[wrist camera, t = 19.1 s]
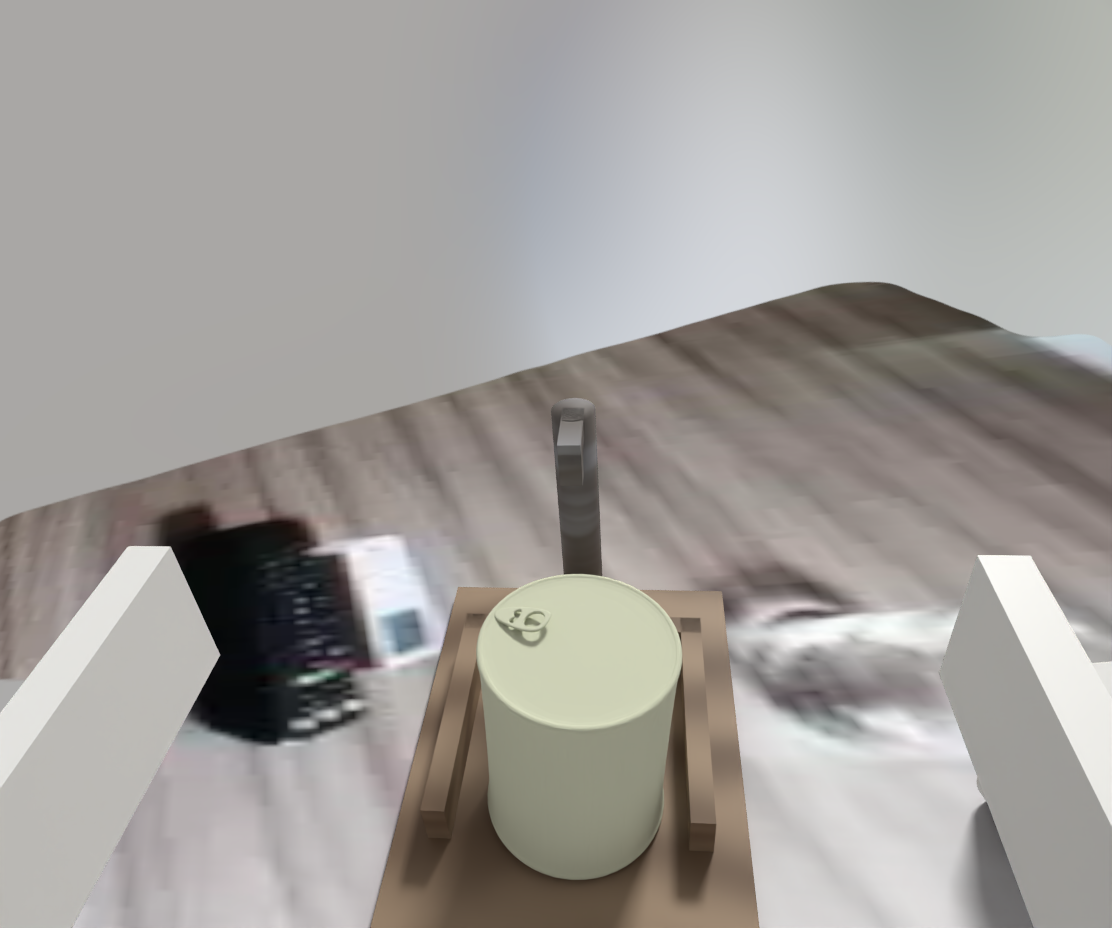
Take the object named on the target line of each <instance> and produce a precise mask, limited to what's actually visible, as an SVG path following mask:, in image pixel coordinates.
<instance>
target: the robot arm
mask: <svg viewBox="0 0 1112 928" xmlns="http://www.w3.org/2000/svg"><path fill="white" fill-rule="evenodd" d="M219 656H220V654H219V652H218V649H217V647H216V645H215V643H214V641H213V639H212V636H211V634H210V632H209V630H208V628H207V625H206V623H205V621H204V619H203V617H202V614H201V612H200V610H199V608H198V606H197V604H196V601H195V599H194V597H193V595H192V593H191V590H190V588H189V586H188V584H187V582H186V580H185V577H184V575H183V573H182V571H181V569H180V566H179V564H178V562H177V560H176V558H175V556H174V553H173V551H172V549H171V547H159V546H128V547H127V549H126V550H125V551H124V553H123V554H122V555H121V556H120V558H119V559H118V560H117V562H116V563H115V564H114V566H113V567H112V568H111V569H110V571H109V572H108V573H107V575H106V576H105V577H104V579H103V580H102V581H101V583H100V584H99V585H98V586H97V588H96V589H95V590H94V592H93V593H92V594H91V596H90V597H89V598H88V599H87V601H86V602H85V603H84V605H83V606H82V607H81V609H80V610H79V611H78V613H77V614H76V615H75V616H74V618H73V619H72V620H71V622H70V623H69V624H68V626H67V627H66V628H65V629H64V631H63V632H62V633H61V635H60V636H59V637H58V639H57V640H56V641H55V643H54V644H53V645H52V646H51V648H50V649H49V650H48V652H47V653H46V654H45V656H44V657H43V658H42V659H41V661H40V662H39V663H38V665H37V666H36V667H35V669H34V670H33V671H32V673H31V674H30V675H29V676H28V678H27V679H26V680H25V682H24V683H23V684H22V686H21V687H20V688H19V689H18V691H17V692H16V694H15V695H14V696H13V697H12V699H11V700H10V701H9V703H8V704H7V705H6V706H5V708H4V709H3V710H2V712H1V713H0V928H72V927H73V925H74V923H75V922H76V920H77V918H78V916H79V914H80V912H81V911H82V909H83V907H84V905H85V903H86V901H87V899H88V898H89V896H90V894H91V892H92V890H93V888H94V887H95V885H96V883H97V881H98V879H99V877H100V875H101V874H102V872H103V870H104V868H105V866H106V864H107V863H108V861H109V859H110V857H111V855H112V853H113V851H114V850H115V848H116V846H117V844H118V842H119V840H120V839H121V837H122V835H123V833H124V831H125V829H126V827H127V826H128V824H129V822H130V820H131V818H132V816H133V815H134V813H135V811H136V809H137V807H138V805H139V803H140V802H141V800H142V798H143V796H144V794H145V792H146V791H147V789H148V787H149V785H150V783H151V781H152V780H153V778H154V776H155V774H156V772H157V770H158V768H159V767H160V765H161V763H162V761H163V759H164V757H165V756H166V754H167V752H168V750H169V748H170V746H171V744H172V743H173V741H174V739H175V737H176V735H177V733H178V732H179V730H180V728H181V726H182V724H183V722H184V720H185V719H186V717H187V715H188V713H189V711H190V709H191V708H192V706H193V704H194V702H195V700H196V698H197V696H198V695H199V693H200V691H201V689H202V687H203V685H204V684H205V682H206V680H207V678H208V676H209V674H210V672H211V671H212V669H213V667H214V665H215V663H216V661H217V660H218V658H219ZM939 675H940V678H941V680H942V683H943V686H944V688H945V691H946V694H947V696H948V699H949V702H950V704H951V707H952V710H953V712H954V715H955V718H956V720H957V723H958V726H959V729H960V731H961V734H962V737H963V739H964V742H965V745H966V747H967V750H968V753H969V755H970V758H971V761H972V763H973V766H974V769H975V771H976V774H977V777H978V779H979V782H980V785H981V788H982V790H983V793H984V796H985V798H986V801H987V804H988V806H989V809H990V812H991V814H992V817H993V820H994V822H995V825H996V828H997V830H998V833H999V836H1000V838H1001V841H1002V844H1003V846H1004V849H1005V852H1006V855H1007V857H1008V860H1009V863H1010V865H1011V868H1012V871H1013V873H1014V876H1015V879H1016V881H1017V884H1018V887H1019V889H1020V892H1021V895H1022V897H1023V900H1024V903H1025V905H1026V908H1027V911H1028V914H1029V916H1030V919H1031V922H1032V924H1033V927H1034V928H1112V698H1111V696H1110V694H1109V693H1108V691H1107V689H1106V687H1105V686H1104V684H1103V682H1102V680H1101V679H1100V677H1099V675H1098V673H1097V672H1096V670H1095V668H1094V666H1093V665H1092V663H1091V661H1090V659H1089V658H1088V656H1087V654H1086V652H1085V651H1084V649H1083V647H1082V645H1081V644H1080V642H1079V640H1078V638H1077V637H1076V635H1075V633H1074V631H1073V630H1072V628H1071V626H1070V624H1069V623H1068V621H1067V619H1066V617H1065V616H1064V614H1063V612H1062V610H1061V609H1060V607H1059V605H1058V603H1057V602H1056V600H1055V598H1054V596H1053V595H1052V593H1051V591H1050V589H1049V588H1048V586H1047V584H1046V582H1045V581H1044V579H1043V577H1042V575H1041V574H1040V572H1039V570H1038V568H1037V567H1036V565H1035V563H1034V561H1033V560H1032V558H1031V556H1000V555H977V558H976V561H975V565H974V568H973V571H972V574H971V577H970V580H969V583H968V586H967V589H966V592H965V595H964V598H963V601H962V604H961V607H960V610H959V614H958V617H957V620H956V623H955V626H954V629H953V632H952V635H951V638H950V641H949V644H948V647H947V650H946V653H945V656H944V659H943V663H942V666H941V669H940V672H939Z"/></svg>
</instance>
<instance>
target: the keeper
mask: <svg viewBox="0 0 1112 928" xmlns="http://www.w3.org/2000/svg"><path fill="white" fill-rule="evenodd" d="M551 416H552V429H553V442H554V454H555V467H556V480H557V492H558V505H559V518H560V531H561V543H562V556H563V569H564V575H567V574H587V575H596V576H602V559H601V535H600V510H599V486H598V461H597V437H596V412H595V406H594V404H593V403H591V402H590V401H588V400H585V399H580V398H570V399H565V400H562V401H559V402H557V403H556V404H555V405H554V406H553V407H552V409H551ZM517 589H518V588H479V587H458V590H457V594H456V598H455V601H454V605H453V609H452V613H451V617H450V621H449V625H448V629H447V632H446V636H445V640H444V644H443V648H442V652H441V656H440V660H439V663H438V667H437V671H436V675H435V679H434V683H433V687H432V690H431V694H430V698H429V702H428V706H427V710H426V714H425V718H424V721H423V725H422V729H421V733H420V737H419V741H418V745H417V749H416V752H415V756H414V760H413V764H412V768H411V772H410V776H409V780H408V783H407V787H406V791H405V795H404V799H403V803H402V807H401V811H400V814H399V818H398V822H397V826H396V830H395V834H394V838H393V841H392V845H391V849H390V853H389V857H388V861H387V865H386V869H385V872H384V876H383V880H382V884H381V888H380V892H379V896H378V900H377V903H376V907H375V911H374V915H373V919H372V923H371V927H370V928H759V921H758V912H757V903H756V894H755V885H754V876H753V867H752V858H751V849H750V840H749V831H748V822H747V813H746V804H745V795H744V787H743V778H742V769H741V760H740V751H739V742H738V733H737V724H736V715H735V706H734V697H733V688H732V679H731V670H730V661H729V652H728V643H727V634H726V626H725V617H724V608H723V599H722V591H669V590H640V591H642V592H643V593H645V594H646V595H648V596H649V597H650V598H652V599H653V600H654V601H655V602H657V603H658V604H659V605H660V606H661V607H662V608H663V609H664V611H665V612H666V613H667V614H668V616H669V617H670V619H671V620H672V622H673V623H674V625H675V627H676V629H677V632H678V634H679V638H680V641H681V647H682V666H681V671H680V675H679V678H678V682H677V687H676V693H675V699H674V706H673V713H672V720H671V727H670V734H669V742H668V749H667V757H666V764H665V773H664V782H663V790H664V809H663V815H662V819H661V823H660V826H659V828H658V830H657V833H656V835H655V836H654V838H653V840H652V841H651V843H650V844H649V846H648V847H647V848H646V849H645V851H644V852H643V853H642V854H641V855H640V856H639V857H638V858H636V859H635V860H634V861H633V862H631V863H630V864H629V865H627V866H626V867H624V868H622V869H620V870H618V871H616V872H614V873H611V874H609V875H606V876H603V877H599V878H594V879H587V880H568V879H562V878H556V877H552V876H549V875H546V874H543V873H541V872H539V871H536V870H534V869H532V868H531V867H529V866H527V865H526V864H524V863H523V862H521V861H520V860H519V859H518V858H516V857H515V856H514V855H513V854H512V853H511V852H510V851H509V850H508V849H507V847H506V846H505V845H504V844H503V842H502V841H501V839H500V838H499V836H498V834H497V832H496V831H495V828H494V826H493V824H492V821H491V817H490V813H489V808H488V785H489V767H488V753H487V742H486V730H485V719H484V708H483V699H482V689H481V679H480V673H479V670H478V666H477V658H476V647H477V640H478V636H479V633H480V629H481V627H482V625H483V623H484V621H485V619H486V618H487V616H488V615H489V613H490V612H491V611H492V609H493V608H494V607H495V606H496V605H497V604H498V603H499V602H500V601H501V600H503V599H504V598H505V597H506V596H507V595H509V594H510V593H512V592H513V591H515V590H517Z"/></svg>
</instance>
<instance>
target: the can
mask: <svg viewBox="0 0 1112 928" xmlns="http://www.w3.org/2000/svg"><path fill="white" fill-rule="evenodd" d="M476 658H477V666H478V670H479V673H480V679H481V689H482V699H483V708H484V719H485V730H486V742H487V753H488V767H489V785H488V808H489V813H490V817H491V821H492V824H493V826H494V828H495V831H496V832H497V834H498V836H499V838H500V839H501V841H502V842H503V844H504V845H505V846H506V847H507V849H508V850H509V851H510V852H511V853H512V854H513V855H514V856H515V857H516V858H518V859H519V860H520V861H521V862H523V863H524V864H526V865H527V866H529V867H531V868H532V869H534V870H536V871H539V872H541V873H543V874H546V875H549V876H552V877H556V878H562V879H568V880H587V879H594V878H599V877H603V876H606V875H609V874H611V873H614V872H616V871H618V870H620V869H622V868H624V867H626V866H627V865H629V864H630V863H631V862H633V861H634V860H635V859H636V858H638V857H639V856H640V855H641V854H642V853H643V852H644V851H645V849H646V848H647V847H648V846H649V844H650V843H651V841H652V840H653V838H654V836H655V835H656V833H657V830H658V828H659V826H660V823H661V819H662V815H663V809H664V790H663V782H664V773H665V764H666V757H667V749H668V742H669V734H670V727H671V720H672V713H673V706H674V699H675V693H676V687H677V682H678V678H679V675H680V671H681V666H682V647H681V641H680V638H679V634H678V632H677V629H676V627H675V625H674V623H673V622H672V620H671V619H670V617H669V616H668V614H667V613H666V612H665V611H664V609H663V608H662V607H661V606H660V605H659V604H658V603H657V602H655V601H654V600H653V599H652V598H650V597H649V596H648V595H646V594H645V593H643V592H642V591H640V590H638V589H636V588H634V587H633V586H631V585H628V584H626V583H623V582H621V581H618V580H614V579H611V578H607V577H602V576H596V575H587V574H567V575H557V576H552V577H547V578H543V579H540V580H536V581H534V582H531V583H529V584H526V585H524V586H522V587H520V588H518V589H517V590H515V591H513V592H512V593H510V594H509V595H507V596H506V597H505V598H504V599H503V600H501V601H500V602H499V603H498V604H497V605H496V606H495V607H494V608H493V609H492V611H491V612H490V613H489V615H488V616H487V618H486V619H485V621H484V623H483V625H482V627H481V629H480V633H479V636H478V640H477V647H476Z"/></svg>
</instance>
